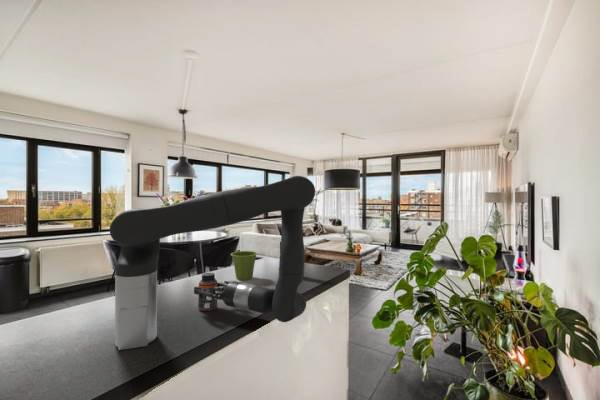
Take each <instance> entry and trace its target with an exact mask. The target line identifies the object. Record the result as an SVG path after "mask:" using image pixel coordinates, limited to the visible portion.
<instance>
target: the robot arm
mask: <svg viewBox="0 0 600 400" xmlns="http://www.w3.org/2000/svg"><path fill="white" fill-rule="evenodd" d="M315 196H316V187H315V184H314V183H313V182H312V181H311V180H310V179H309V178H308V177H306V176H302V175H294V176H291V177H288V178H285V179H283V180H278V181H275V182H272V183H267V184H265V185H261V186H260V185H259V186H253V187H251V186H250V187H249V186H248V187H243V188H233V189H229V190H221V191H217V192H213V193H212V192H211V193H208V194H203V195H200V196H196V197H193V198H189V199H187V200H183V201H181V202H178V203H175V204H174V203H173V204H169V205H165V206H158V207H152V208H150V207H149V208H133V209H127V210H124V211H122V212H121V213H119V214H118V215H116V216H115V218H114V219H113V220H112V221H111V223H110V225H109V234H110V237H111V239H112V240H113V241H114V242H115V243H116V244H117V245H120V252H119V256H118V259H117V261H116V262H115V271H114V272H115V279H114V281H115V286H114V290H115V292H114V294H115V295H114V299H115V300H114V340H115V341H114V344H115V345H114V346H115V347H116V348H117V350H118V351H123V350H129V349H134V348H135V349H136V348H141V347H148V345H149V344H150V343H151V342H153V341H154V340H156V338H157V334H158V317H157V316H158V263H159V260H160V259H159V258H160V245H161V244H160V243H161V239H163V238H168V237H171V236H174V235H178V234H186V233H194V232H200V231H208V230H211V229H218V228H222V227H223V228H224V227H226V226H230V225H231V226H232V225H234V224H235V225H236V224H238V223H242V222H244V221H249V220H251V219H253V218H255V217H259V216H261V215H265V214H268V213H273V212H278V211H280V213H281V237H280V238H281V239H280V242H281V248H280V247H279V263H278V264H279V265H278V278H277V281H276V284H275V289H274V288H268V287H262V286H257V285H256V286H255V284H253V285H252V283H246V282H242V281H234V280H233V281H229V280H228V281H227V280H225V281H223V282H221V281H220V282H217V286H218V287H210V288H201V287H199V286H193V294H194V295H197V296H198V295H199V299H200V300H203V301H206V302H208V303H212V300H213V299H217V301H223V302H224V305H226V306H227V307H231V308H235V309H239V310H242V311H243V310H244V311H251V312H256V313H259V314H268V313H269V314H270V313H272V314H273V316H274V317H275V318H276V320H277V321H279V322H281V323H287V322H290V321H292V320H294V319H295V318H297V317H300V316H301V315H302V314H303V313H304V312H305V310H306V308H307V301H306V298H305V296H304V294H302V293H300V292H299V291H298V288H299V286H300V285H301V284H302V283H303V281H304V275H305V257H306V256H305V244H304V233H303V223H304V222H303V220H304V214H305V209H306V207H308V206H309V205H310V204H311V203H312V202H313V201H314V198H315ZM212 290H214V295H213V294H212ZM206 291H208V292H206Z"/></svg>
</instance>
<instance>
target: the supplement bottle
mask: <svg viewBox="0 0 600 400" xmlns="http://www.w3.org/2000/svg"><path fill="white" fill-rule="evenodd" d="M215 276H216V275H215V273H214V272H205V273H202V274H201V280H199V281H198V287H201V288H210V287H218V286H217V283H218V280H217V279H216V278H215ZM206 292H208V291H206ZM212 294H213V295H214V290H212ZM197 296H198V297H197V298H198V302H197V305H198V306H197V307H198V310H199V311H201V312H202V311H203V312H211V311H213V310H216V309H217V307H218V299H213V300H212V303H208V302H206V301H203V300H200V299H199V295H197Z"/></svg>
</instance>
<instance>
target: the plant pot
mask: <svg viewBox="0 0 600 400" xmlns="http://www.w3.org/2000/svg"><path fill="white" fill-rule="evenodd" d="M257 255H258V252H257V251H252V250H241V251H235V252H232V253H230V256H231V258H232V261H233V262H232V263H233V268H234V273H235V279H236V280H239V281H242V280H245V281H247V280H251V279H252V278H253V277H254V270H255V269H254V268H255V263H256V258H257Z"/></svg>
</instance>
